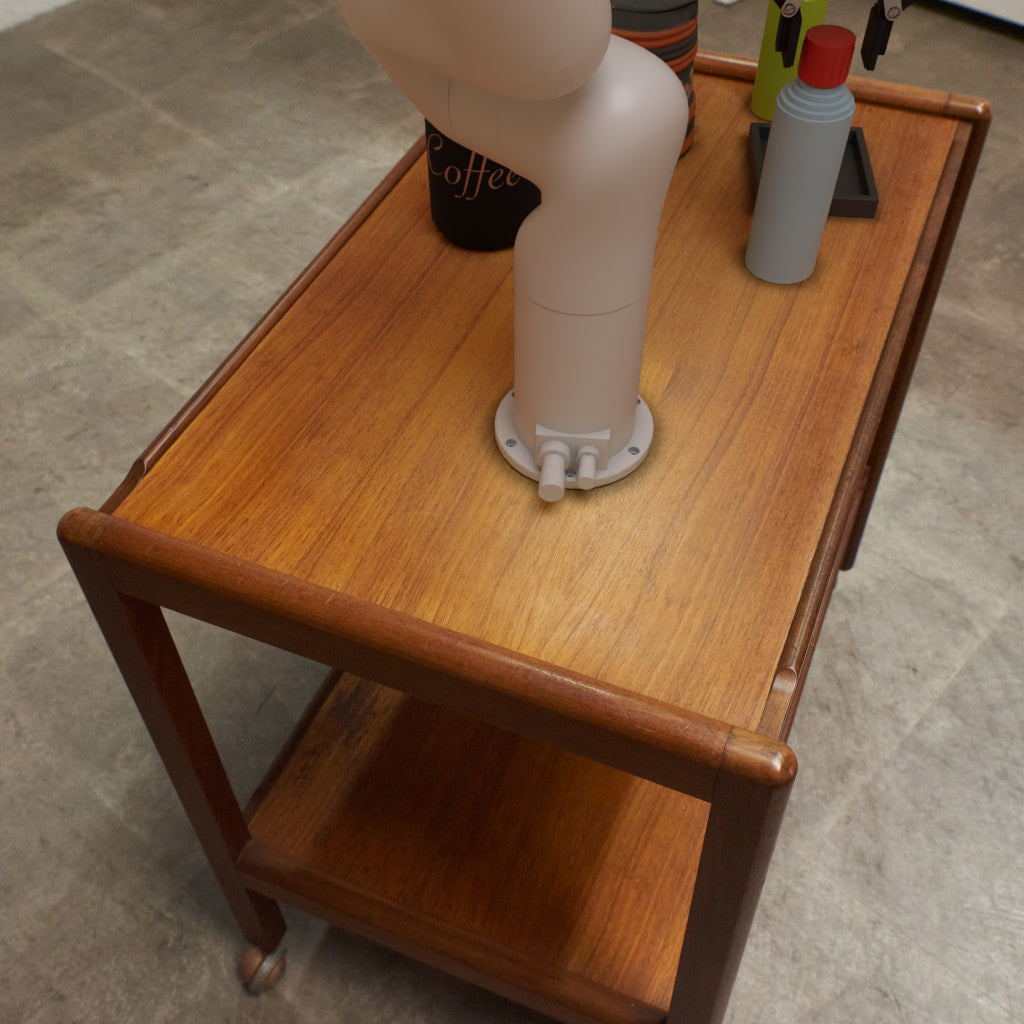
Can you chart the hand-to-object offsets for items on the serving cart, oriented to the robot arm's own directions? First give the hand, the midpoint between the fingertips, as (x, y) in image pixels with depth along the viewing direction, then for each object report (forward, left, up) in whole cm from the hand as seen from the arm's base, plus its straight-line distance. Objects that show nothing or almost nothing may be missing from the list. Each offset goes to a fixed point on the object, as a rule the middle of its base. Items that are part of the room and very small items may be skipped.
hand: (827, 59), depth 85 cm
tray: (+15, -4, -20) cm, 25 cm away
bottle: (0, 0, -20) cm, 20 cm away
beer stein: (+22, +17, -20) cm, 34 cm away
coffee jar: (+4, +28, -20) cm, 35 cm away
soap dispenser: (+29, -2, -20) cm, 35 cm away
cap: (0, 0, -1) cm, 1 cm away
